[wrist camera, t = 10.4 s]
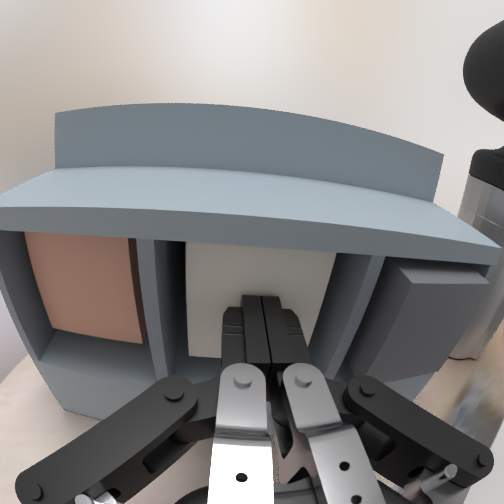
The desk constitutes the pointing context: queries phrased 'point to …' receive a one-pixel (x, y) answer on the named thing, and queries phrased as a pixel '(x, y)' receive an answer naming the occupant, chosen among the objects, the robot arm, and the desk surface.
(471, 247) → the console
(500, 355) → the desk surface
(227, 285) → the cream key
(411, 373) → the charcoal key
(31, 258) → the terracotta key
